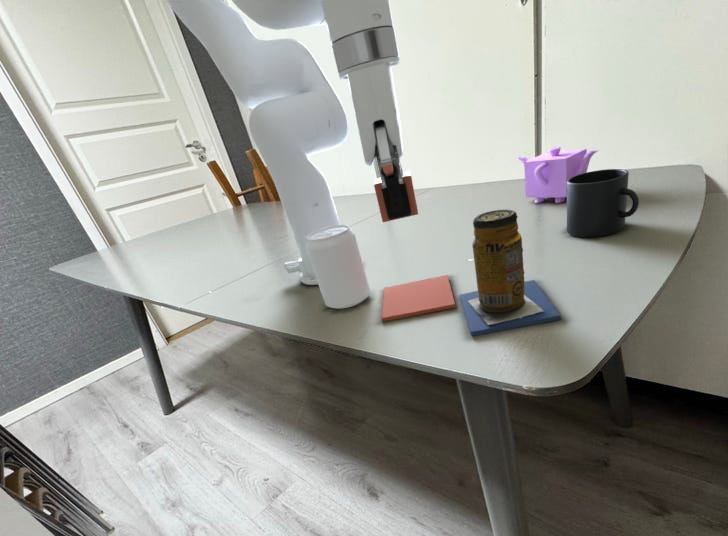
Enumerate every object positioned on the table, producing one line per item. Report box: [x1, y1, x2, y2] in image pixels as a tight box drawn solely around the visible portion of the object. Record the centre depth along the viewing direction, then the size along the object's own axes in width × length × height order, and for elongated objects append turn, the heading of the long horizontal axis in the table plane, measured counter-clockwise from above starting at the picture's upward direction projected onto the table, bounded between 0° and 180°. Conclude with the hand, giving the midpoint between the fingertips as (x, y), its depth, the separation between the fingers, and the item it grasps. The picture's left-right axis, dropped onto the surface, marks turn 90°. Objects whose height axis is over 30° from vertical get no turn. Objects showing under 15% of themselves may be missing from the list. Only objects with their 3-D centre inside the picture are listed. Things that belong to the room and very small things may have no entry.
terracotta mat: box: [381, 274, 457, 322], centre depth 64 cm, size 11×12×1 cm
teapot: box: [516, 146, 600, 204], centre depth 94 cm, size 15×13×11 cm
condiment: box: [469, 209, 543, 325], centre depth 51 cm, size 7×8×12 cm
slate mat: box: [459, 279, 562, 337], centre depth 55 cm, size 11×12×1 cm
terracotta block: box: [373, 170, 419, 223], centre depth 56 cm, size 5×5×5 cm
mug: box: [566, 168, 640, 238], centre depth 70 cm, size 9×12×9 cm
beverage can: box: [306, 224, 371, 310], centre depth 67 cm, size 8×8×12 cm
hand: (400, 210), depth 57 cm, fingers closed on terracotta block, 5 cm apart
